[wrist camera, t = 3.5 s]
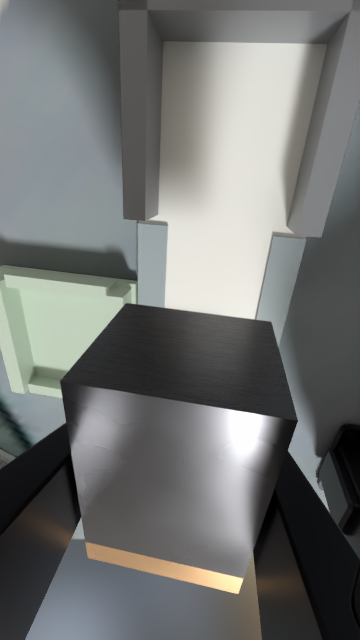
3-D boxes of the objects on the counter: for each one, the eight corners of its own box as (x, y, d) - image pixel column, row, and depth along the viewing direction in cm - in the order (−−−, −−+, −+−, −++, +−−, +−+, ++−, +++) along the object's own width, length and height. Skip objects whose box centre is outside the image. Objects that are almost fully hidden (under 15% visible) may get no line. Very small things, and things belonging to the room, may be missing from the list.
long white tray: (360, 9, 11) (403, -47, 8) (250, 444, 22) (252, 482, 19) (143, 8, 12) (116, -42, 9) (140, 424, 23) (128, 458, 20)
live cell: (271, 321, 8) (298, 420, 5) (236, 469, 10) (238, 593, 7) (125, 302, 8) (59, 381, 5) (129, 448, 11) (88, 557, 8)
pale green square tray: (138, 281, 17) (127, 293, 16) (138, 395, 22) (129, 415, 20) (3, 264, 19) (-23, 274, 17) (28, 376, 23) (9, 394, 21)
